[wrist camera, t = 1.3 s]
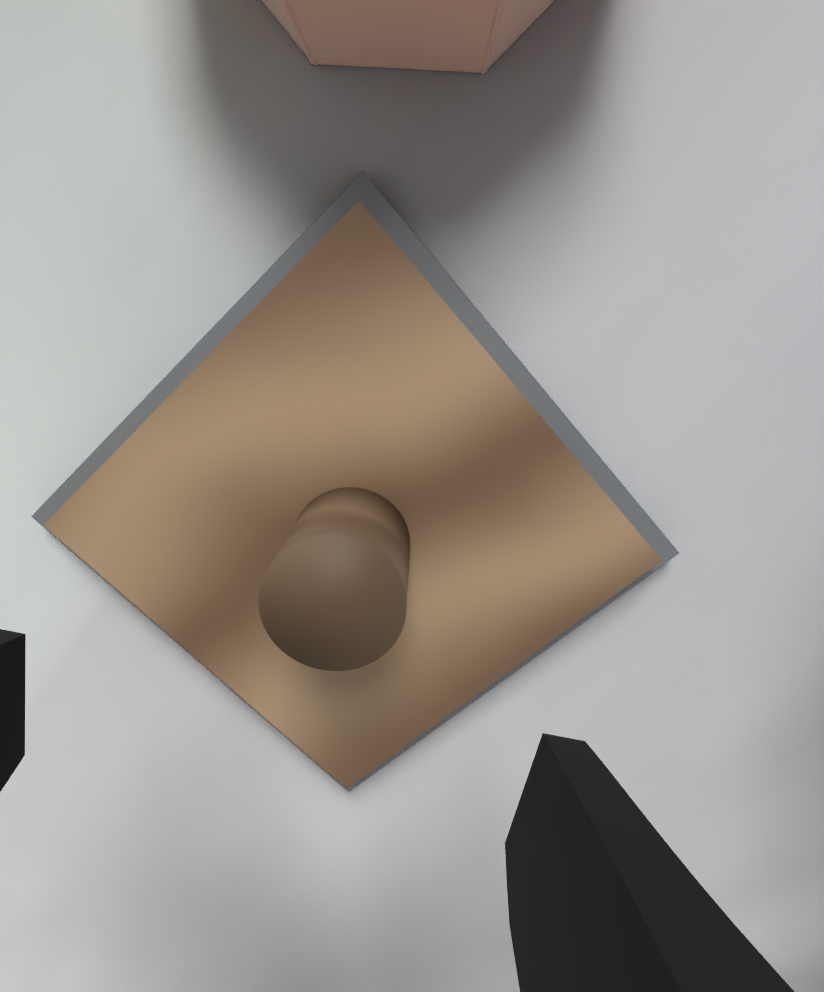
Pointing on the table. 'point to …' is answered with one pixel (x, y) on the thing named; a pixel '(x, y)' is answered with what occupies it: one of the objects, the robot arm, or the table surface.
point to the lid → (353, 510)
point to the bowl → (406, 31)
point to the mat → (466, 314)
